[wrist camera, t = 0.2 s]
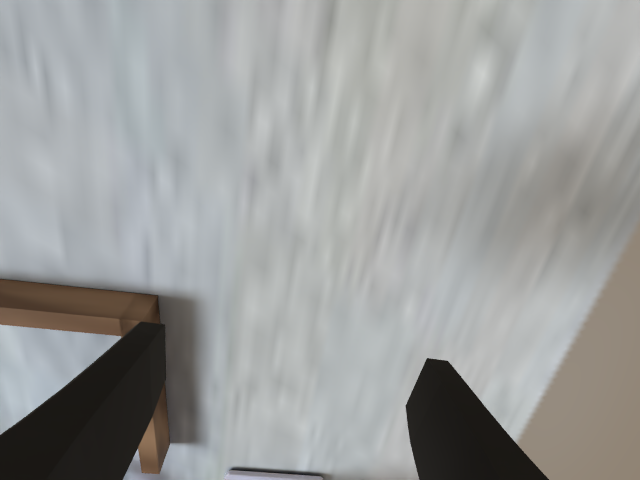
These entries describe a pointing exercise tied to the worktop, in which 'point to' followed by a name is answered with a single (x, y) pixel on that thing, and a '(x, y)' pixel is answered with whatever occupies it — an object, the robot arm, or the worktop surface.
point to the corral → (90, 317)
